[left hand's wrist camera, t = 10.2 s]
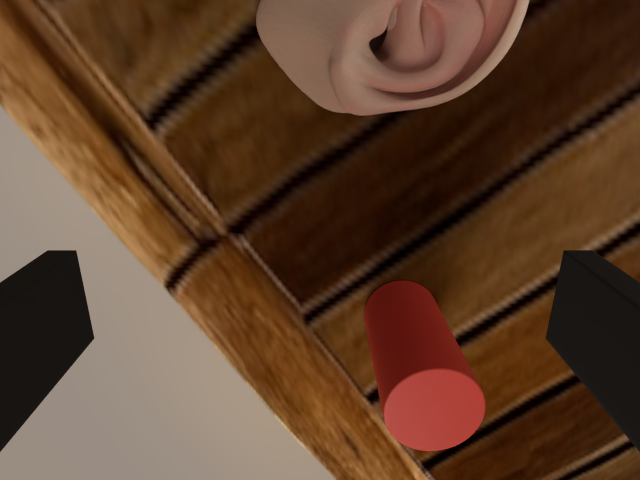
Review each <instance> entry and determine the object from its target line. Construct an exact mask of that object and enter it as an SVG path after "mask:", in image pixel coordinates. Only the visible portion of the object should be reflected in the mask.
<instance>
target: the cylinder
mask: <svg viewBox="0 0 640 480" xmlns="http://www.w3.org/2000/svg"><path fill="white" fill-rule="evenodd" d="M364 320H365V325H366V330H367V335H368V340H369V346H370V351H371V356H372V361H373V366H374V371H375V376H376V381H377V387H378V392H379V397H380V402H381V407H382V412H383V417H384V421H385V425H386V427H387V429H388V430H389V432H390V433H391V435H392V436H393V437H394V438H395V439H396V440H398V441H399V442H400V443H402V444H404V445H406V446H408V447H410V448H413V449H417V450H423V451H437V450H443V449H447V448H450V447H453V446H456V445H458V444H460V443H461V442H463V441H465V440H466V439H467V438H469V437H470V436H471V435H472V434H473V433H474V432H475V431H476V430H477V429H478V427H479V425H480V424H481V422H482V420H483V417H484V414H485V397H484V394H483V391H482V389H481V387H480V386H479V384H478V382H477V380H476V378H475V376H474V374H473V372H472V370H471V368H470V366H469V365H468V363H467V361H466V359H465V357H464V355H463V353H462V351H461V349H460V347H459V345H458V343H457V342H456V340H455V338H454V336H453V334H452V332H451V330H450V328H449V326H448V324H447V322H446V320H445V319H444V317H443V315H442V313H441V311H440V309H439V307H438V305H437V303H436V301H435V299H434V298H433V296H432V294H431V293H430V292H429V291H428V290H427V289H426V288H425V287H423V286H422V285H420V284H418V283H415V282H411V281H405V280H401V281H393V282H390V283H387V284H385V285H383V286H381V287H380V288H378V289H377V290H376V291H375V292H374V293H373V294H372V295H371V296H370V298H369V299H368V301H367V303H366V306H365V310H364Z"/></svg>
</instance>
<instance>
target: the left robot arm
mask: <svg viewBox="0 0 640 480" xmlns="http://www.w3.org/2000/svg"><path fill="white" fill-rule="evenodd" d="M93 339H94V335H93V330H92V325H91V320H90V316H89V311H88V306H87V301H86V296H85V291H84V286H83V281H82V276H81V272H80V267H79V262H78V257H77V252H76V251H46V252H45V253H43V254H42V255H40V256H39V257H37V258H36V259H34V260H33V261H32V262H30V263H29V264H27V265H26V266H24V267H23V268H21V269H20V270H18V271H17V272H15V273H14V274H12V275H11V276H9V277H8V278H6V279H5V280H3V281H2V282H1V283H0V451H1V450H2V449H3V448H4V447H5V445H6V444H7V443H8V442H9V441H10V439H11V438H12V437H13V436H14V435H15V433H16V432H17V431H18V430H19V429H20V427H21V426H22V425H23V424H24V423H25V421H26V420H27V419H28V418H29V416H30V415H31V414H32V413H33V412H34V410H35V409H36V408H37V407H38V406H39V404H40V403H41V402H42V401H43V400H44V398H45V397H46V396H47V395H48V394H49V392H50V391H51V390H52V389H53V388H54V386H55V385H56V384H57V383H58V381H59V380H60V379H61V378H62V377H63V375H64V374H65V373H66V372H67V371H68V369H69V368H70V367H71V366H72V365H73V363H74V362H75V361H76V360H77V358H78V357H79V356H80V355H81V354H82V352H83V351H84V350H85V349H86V348H87V346H88V345H89V344H90V343H91V342H92V340H93ZM546 339H547V340H548V342H549V343H550V344H551V345H552V346H553V348H554V349H555V350H556V351H557V352H558V354H559V355H560V356H561V357H562V359H563V360H564V361H565V362H566V363H567V365H568V366H569V367H570V368H571V369H572V371H573V372H574V373H575V374H576V375H577V377H578V378H579V379H580V380H581V381H582V383H583V384H584V385H585V386H586V388H587V389H588V390H589V391H590V392H591V394H592V395H593V396H594V397H595V398H596V400H597V401H598V402H599V403H600V404H601V406H602V407H603V408H604V409H605V410H606V412H607V413H608V414H609V415H610V416H611V418H612V419H613V420H614V421H615V423H616V424H617V425H618V426H619V427H620V429H621V430H622V431H623V432H624V433H625V435H626V436H627V437H628V438H629V439H630V441H631V442H632V443H633V444H634V445H635V447H636V448H637V449H638V450H639V452H640V283H639V282H638V281H637V280H635V279H634V278H632V277H631V276H629V275H628V274H626V273H625V272H623V271H622V270H620V269H619V268H617V267H616V266H614V265H613V264H611V263H610V262H609V261H607V260H606V259H604V258H603V257H601V256H600V255H598V254H597V253H595V252H594V251H564V252H563V257H562V262H561V267H560V272H559V276H558V281H557V286H556V291H555V296H554V301H553V306H552V311H551V315H550V320H549V325H548V330H547V335H546Z"/></svg>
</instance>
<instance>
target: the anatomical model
mask: <svg viewBox="0 0 640 480" xmlns="http://www.w3.org/2000/svg"><path fill="white" fill-rule="evenodd" d="M528 4H529V0H261V1H260V3H259V6H258V10H257V15H256V25H257V30H258V33H259V36H260V38H261V40H262V42H263V44H264V45H265V47H266V48H267V50H268V51H269V53H270V54H271V56H272V57H273V58H274V60H275V61H276V62H277V63H278V65H279V66H280V67H281V68H282V69H283V71H284V72H285V73H286V74H287V76H288V77H289V78H290V79H291V80H292V81H293V83H294V84H295V85H296V86H297V87H299V88H300V89H301V90H302V91H303V92H304V93H305V94H306V95H307V96H308V97H310V98H311V99H312V100H313V101H314V102H315V103H317V104H318V105H320V106H321V107H323V108H325V109H327V110H330V111H333V112H339V113H351V114H354V115H359V116H364V115H374V114H380V113H387V112H395V111H404V110H412V109H420V108H426V107H431V106H435V105H438V104H441V103H444V102H447V101H450V100H452V99H454V98H457V97H458V96H460V95H462V94H464V93H465V92H467V91H468V90H470V89H471V88H473V87H474V86H475V85H477V84H478V83H479V82H480V81H481V80H482V79H484V78H485V77H486V76H487V75H488V74H489V73H490V72H491V71H492V70H493V69H494V68H495V67H496V66H497V64H498V63H499V62H500V61H501V60H502V58H503V57H504V56H505V54H506V53H507V52H508V50H509V48H510V47H511V45H512V43H513V42H514V40H515V38H516V36H517V34H518V32H519V29H520V27H521V25H522V22H523V19H524V16H525V14H526V11H527V7H528Z"/></svg>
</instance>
